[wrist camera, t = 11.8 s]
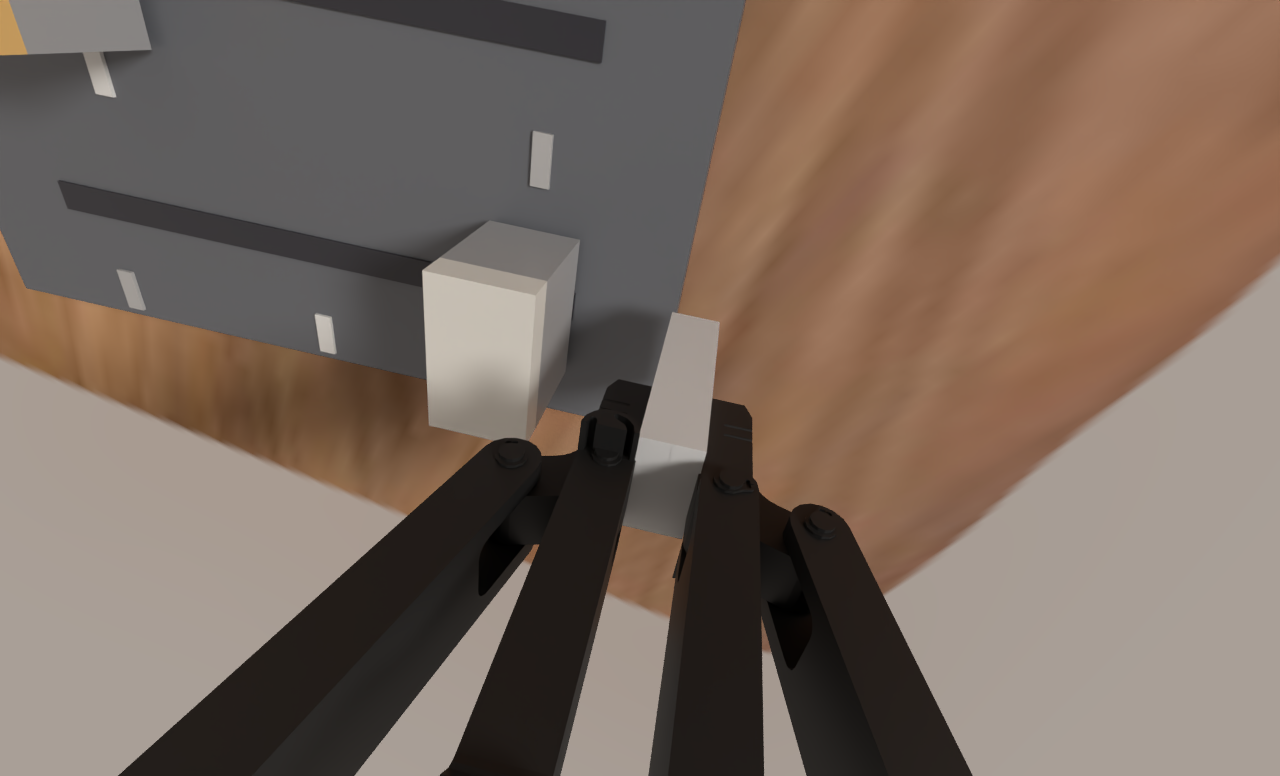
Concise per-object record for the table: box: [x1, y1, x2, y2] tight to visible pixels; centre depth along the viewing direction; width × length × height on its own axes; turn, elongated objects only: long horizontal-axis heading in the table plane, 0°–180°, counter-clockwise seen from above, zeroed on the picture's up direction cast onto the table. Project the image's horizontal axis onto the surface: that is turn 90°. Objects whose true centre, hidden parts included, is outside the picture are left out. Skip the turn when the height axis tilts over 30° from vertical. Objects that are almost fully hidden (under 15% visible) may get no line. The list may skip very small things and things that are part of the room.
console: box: [0, 0, 746, 416], centre depth 20 cm, size 15×26×3 cm, turn 80°
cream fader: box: [422, 220, 580, 441], centre depth 18 cm, size 5×3×5 cm, turn 170°
